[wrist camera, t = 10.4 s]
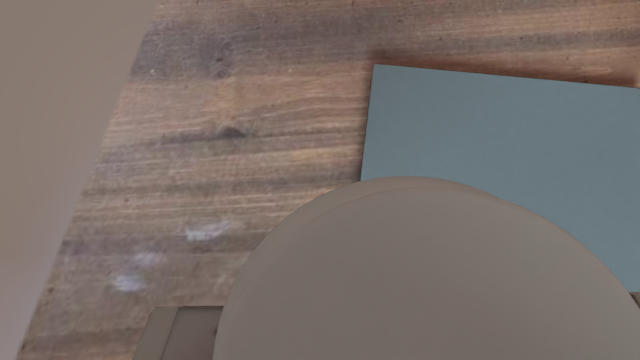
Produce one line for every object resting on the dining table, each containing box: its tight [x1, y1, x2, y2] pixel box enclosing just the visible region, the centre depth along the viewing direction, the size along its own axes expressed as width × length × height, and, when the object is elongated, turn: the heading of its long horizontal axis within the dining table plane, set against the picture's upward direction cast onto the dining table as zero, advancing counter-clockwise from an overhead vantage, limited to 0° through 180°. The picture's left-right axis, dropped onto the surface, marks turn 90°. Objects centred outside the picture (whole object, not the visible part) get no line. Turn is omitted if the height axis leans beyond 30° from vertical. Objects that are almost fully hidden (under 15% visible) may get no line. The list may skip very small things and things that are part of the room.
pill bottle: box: [212, 176, 640, 360], centre depth 11 cm, size 6×6×11 cm
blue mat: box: [360, 64, 640, 292], centre depth 28 cm, size 14×12×1 cm
